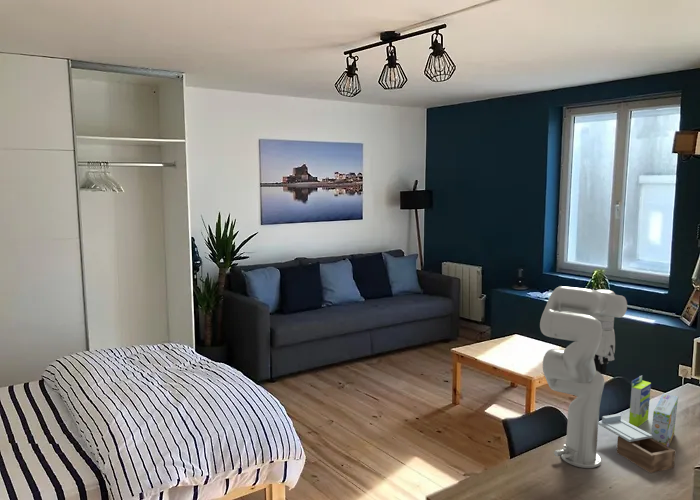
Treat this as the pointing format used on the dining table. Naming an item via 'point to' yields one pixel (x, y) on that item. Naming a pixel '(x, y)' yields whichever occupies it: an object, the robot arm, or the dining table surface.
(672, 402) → the snack box
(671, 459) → the keepsake box
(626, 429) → the lid
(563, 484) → the dining table surface
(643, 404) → the box
